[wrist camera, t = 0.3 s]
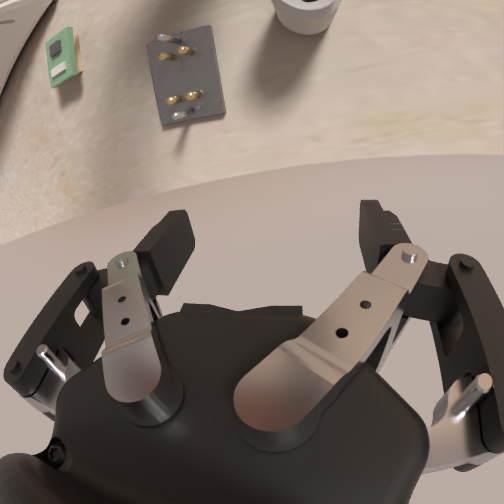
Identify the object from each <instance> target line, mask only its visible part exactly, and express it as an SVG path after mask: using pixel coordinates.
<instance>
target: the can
mask: <svg viewBox="0 0 504 504" xmlns="http://www.w3.org/2000/svg"><path fill="white" fill-rule="evenodd" d="M271 1H272V3H273V6H274V8H275V11H276V13H277V16H278V19H279V21H280V22H281V23H282V24H283V26H284V27H286V28H287V29H289V30H290V31H292V32H295V33H298V34H303V35H312V34H318V33H320V32H322V31H324V30H325V29H326V28H327V27H328V26H330V24H331V22H332V20H333V18H334V16H335V14H336V12H337V10H338V8H339V6H340V3H341V1H342V0H271Z"/></svg>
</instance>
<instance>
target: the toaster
mask: <svg viewBox="0 0 504 504" xmlns="http://www.w3.org/2000/svg"><path fill="white" fill-rule="evenodd" d="M52 1H53V0H0V95H1V93H2V90H3V88H4V85H5V83H6V81H7V78H8V76H9V74H10V72H11V70H12V68H13V65H14V63H15V61H16V59H17V57H18V55H19V54H20V52H21V50H22V48H23V46H24V44H25V42H26V41H27V39H28V37H29V36H30V34H31V32H32V31H33V29H34V27H35V26H36V24H37V23H38V21H39V19H40V18H41V16H42V15H43V13H44V12H45V11H46V9H47V8H48V6H49V5H50V3H51V2H52ZM54 1H57V0H54Z"/></svg>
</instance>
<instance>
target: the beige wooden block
mask: <svg viewBox="0 0 504 504" xmlns="http://www.w3.org/2000/svg"><path fill="white" fill-rule="evenodd" d="M73 38H74V47H75V55H76V63H77V69H78V73H80V72H82V71H83V68H82V62H81V55H80V47H79V38H78V35H73Z"/></svg>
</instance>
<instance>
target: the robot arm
mask: <svg viewBox="0 0 504 504" xmlns="http://www.w3.org/2000/svg"><path fill="white" fill-rule="evenodd" d="M359 244H360V248H361V252H362V256H363V259H364V264H365V268H366V271H363V272H361V273H360V274H359V275H358V276H357V277H356V279H355V280H354V281H353V282H352V283H351V284H350V285H349V286H348V288H346V289H345V291H344V292H343V293H342V294H341V295H340V296H339V297H338V298H337V299H336V300H335V301H334V302H333V303H332V304H331V305H330V306H329V307H328V308H327V309H326V310H325V311H324V312H323V313H322V314H321V315H320V316H319V318H317V319H315V318H312V317H308V316H304V315H303V313H302V306H267V307H262V308H256V309H250V310H244V311H233V310H230V309H226V308H222V307H218V306H214V305H210V304H188V303H184V304H183V306H182V308H181V310H180V312H176V313H172V314H169V315H166V316H163V315H162V312H161V309H160V306H159V303H158V301H157V300H156V296H157V295H169V293H170V291H171V290H172V288H173V286H174V284H175V282H176V281H177V279H178V277H179V275H180V273H181V272H182V270H183V268H184V266H185V264H186V263H187V261H188V259H189V257H190V256H191V254H192V252H193V251H194V248H195V238H194V234H193V231H192V227H191V224H190V220H189V217H188V214H187V212H186V211H185V210H174V211H169V212H168V213H167V215H166V216H165V217H164V218H163V219H162V220H161V221H160V222H159V223H158V224H157V225H155V226H154V227H153V228H152V229H151V230H150V231H149V232H148V234H147V235H146V236H145V237H144V239H142V241H141V242H140V243H139V244H138V245H137V247H136V248H135V249H134V250H133V251H132V252H131V251H129V252H124V253H121V254H119V255H117V256H115V257H114V258H113V259H112V260H111V261H110V262H109V263H108V266H107V268H106V269H102V270H98V271H97V269H96V267H95V266H94V264H93V263H92V262H85V263H82V264H80V265H78V266H77V267H76V268H74V269H73V270H72V271H71V273H70V274H69V275H68V276H67V278H66V279H65V280H64V281H63V283H62V284H61V285H60V286H59V288H58V289H57V290H56V291H55V293H54V294H53V295H52V297H51V298H50V299H49V301H48V302H47V303H46V305H45V306H44V307H43V309H42V310H41V312H40V313H39V315H38V316H37V317H36V319H35V320H34V321H33V323H32V324H31V326H30V327H29V329H28V330H27V332H26V334H25V335H24V336H23V338H22V340H21V341H20V343H19V344H18V346H17V347H16V349H15V351H14V352H13V354H12V356H11V357H10V359H9V361H8V362H7V364H6V367H5V369H4V379H5V381H6V382H7V383H8V384H9V385H10V386H11V387H12V388H13V389H14V390H16V391H17V392H18V393H19V395H20V396H21V397H22V398H23V399H25V400H26V401H27V402H28V403H29V404H31V405H32V406H33V407H34V408H36V409H37V410H38V411H40V412H42V413H43V414H44V415H46V416H47V417H49V418H50V419H51V420H53V421H55V423H54V429H53V433H52V438H51V441H50V443H49V445H48V447H47V448H46V449H45V450H44V451H42V452H41V453H38V454H35V455H29V454H24V453H13V454H8V455H6V456H4V457H2V458H1V459H0V504H408V503H409V500H410V498H411V495H412V493H413V490H414V488H415V486H416V484H417V482H418V480H419V478H420V476H421V474H425V473H430V472H435V471H440V470H444V469H448V468H454V469H455V470H457V471H460V472H466V471H469V470H472V469H474V468H476V467H478V466H480V465H482V464H484V463H486V462H488V461H489V460H491V459H493V458H495V457H497V456H498V455H500V454H502V453H504V308H503V306H502V304H501V302H500V300H499V298H498V296H497V294H496V292H495V290H494V288H493V286H492V284H491V283H490V280H489V279H488V277H487V275H486V273H485V271H484V270H483V268H482V266H481V265H480V263H479V262H478V261H477V260H476V259H474V258H473V257H471V256H469V255H465V254H455V255H453V256H451V257H450V260H449V263H448V265H447V264H442V263H437V262H433V261H430V260H428V255H427V253H426V252H425V251H424V250H423V249H422V248H420V247H419V246H417V245H414V244H412V243H411V241H410V239H409V237H408V235H407V233H406V232H405V230H404V228H403V226H402V224H401V223H400V221H399V219H398V217H397V216H396V215H394V214H393V213H392V212H390V211H383V209H382V207H381V205H380V203H379V202H378V200H361V203H360V221H359ZM82 300H83V302H84V303H85V305H86V306H87V308H88V310H89V311H90V312H89V314H88V315H87V317H86V319H85V320H84V322H83V323H82V325H81V327H80V326H79V325H78V324H77V322H76V320H75V317H74V313H75V310H76V308H77V307H78V305H79V304H80V302H81V301H82ZM411 317H412V318H417V319H422V320H428V321H430V325H431V329H432V333H433V337H434V342H435V346H436V351H437V356H438V361H439V366H440V371H441V377H442V383H443V390H444V395H443V397H442V398H441V399H440V400H439V401H438V402H437V404H436V406H435V408H434V411H433V421H432V425H431V427H430V428H426V425H425V423H424V421H423V420H422V418H421V417H420V416H419V414H418V413H417V412H416V411H415V410H414V409H413V408H412V407H411V406H409V404H408V403H407V402H406V401H405V400H404V399H403V398H402V397H401V396H400V395H399V394H398V393H397V392H396V391H395V390H394V389H393V388H392V387H391V386H390V385H389V384H388V383H387V382H386V381H385V380H384V379H383V378H382V377H381V376H380V375H379V374H378V372H379V371H380V369H381V367H382V366H383V364H384V362H385V360H386V358H387V356H388V354H389V353H390V351H391V349H392V348H393V346H394V345H395V343H396V341H397V340H398V338H399V336H400V335H401V333H402V332H403V330H404V328H405V326H406V325H407V323H408V321H409V320H410V318H411ZM104 340H105V346H106V347H105V349H104V350H103V351H102V357H100V358H99V359H98V360H96V361H94V359H95V357H96V355H97V353H98V351H99V349H100V347H101V345H102V344H103V342H104ZM93 361H94V362H93Z"/></svg>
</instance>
